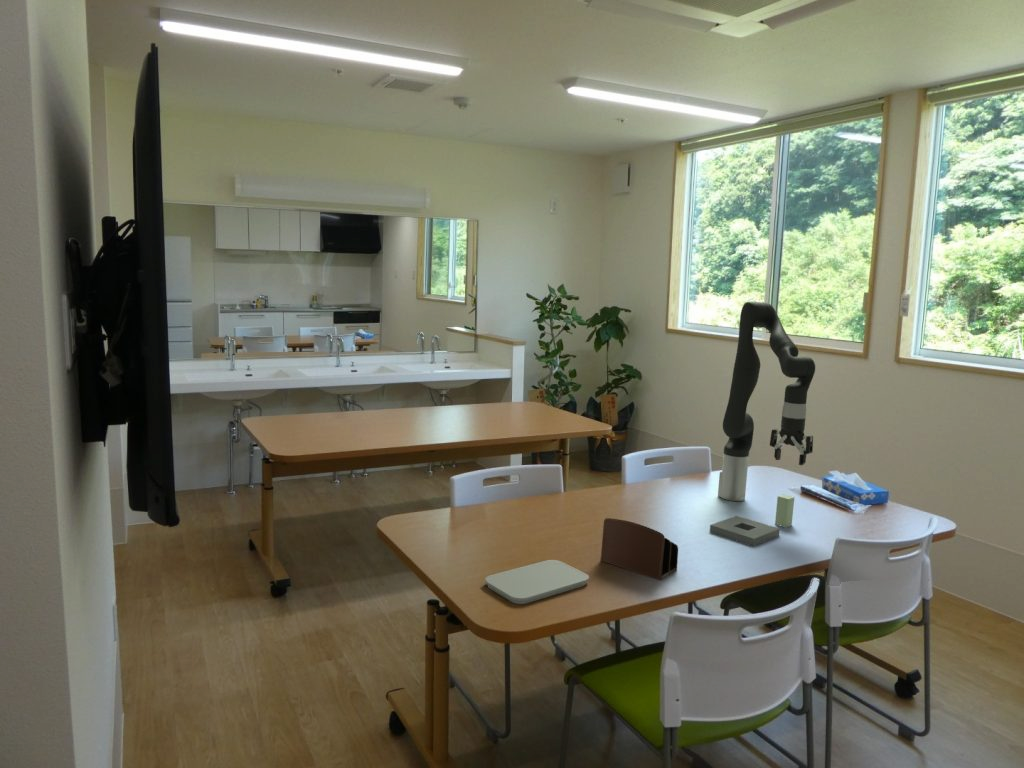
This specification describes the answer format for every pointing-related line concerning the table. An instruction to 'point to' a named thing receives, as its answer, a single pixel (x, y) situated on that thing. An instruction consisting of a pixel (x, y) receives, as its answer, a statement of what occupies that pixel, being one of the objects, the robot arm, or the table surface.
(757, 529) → the pocket holder
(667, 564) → the letter holder
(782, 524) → the sage block
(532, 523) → the table surface
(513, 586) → the tablet
